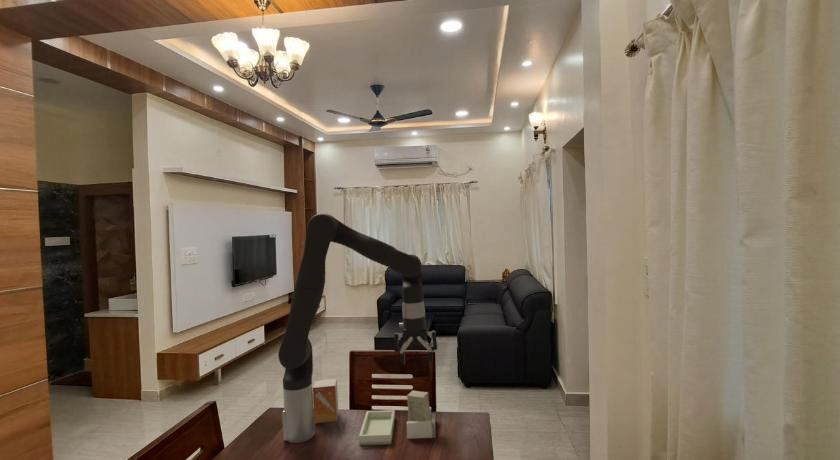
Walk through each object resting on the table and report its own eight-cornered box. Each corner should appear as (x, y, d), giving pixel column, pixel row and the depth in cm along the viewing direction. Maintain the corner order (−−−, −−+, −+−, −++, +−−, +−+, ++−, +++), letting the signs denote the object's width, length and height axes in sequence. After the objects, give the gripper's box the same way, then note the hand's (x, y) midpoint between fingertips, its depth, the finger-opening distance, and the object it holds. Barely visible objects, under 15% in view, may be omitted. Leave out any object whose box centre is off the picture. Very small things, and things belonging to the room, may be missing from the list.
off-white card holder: (407, 438, 125) (406, 423, 125) (408, 421, 136) (408, 407, 136) (435, 437, 125) (435, 422, 125) (435, 420, 136) (434, 406, 135)
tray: (359, 445, 123) (358, 436, 123) (367, 419, 139) (366, 411, 139) (391, 444, 123) (390, 434, 123) (395, 418, 139) (394, 410, 139)
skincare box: (431, 428, 131) (429, 392, 131) (426, 434, 127) (424, 397, 127) (414, 424, 134) (412, 389, 134) (408, 431, 130) (406, 394, 130)
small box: (314, 424, 137) (312, 387, 137) (316, 415, 144) (314, 380, 143) (337, 421, 138) (335, 385, 138) (338, 412, 145) (337, 378, 144)
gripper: (391, 318, 126) (394, 368, 126) (435, 316, 126) (438, 366, 126) (393, 313, 134) (396, 360, 134) (434, 311, 133) (437, 357, 134)
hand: (416, 362), depth 130 cm, fingers open, 8 cm apart
